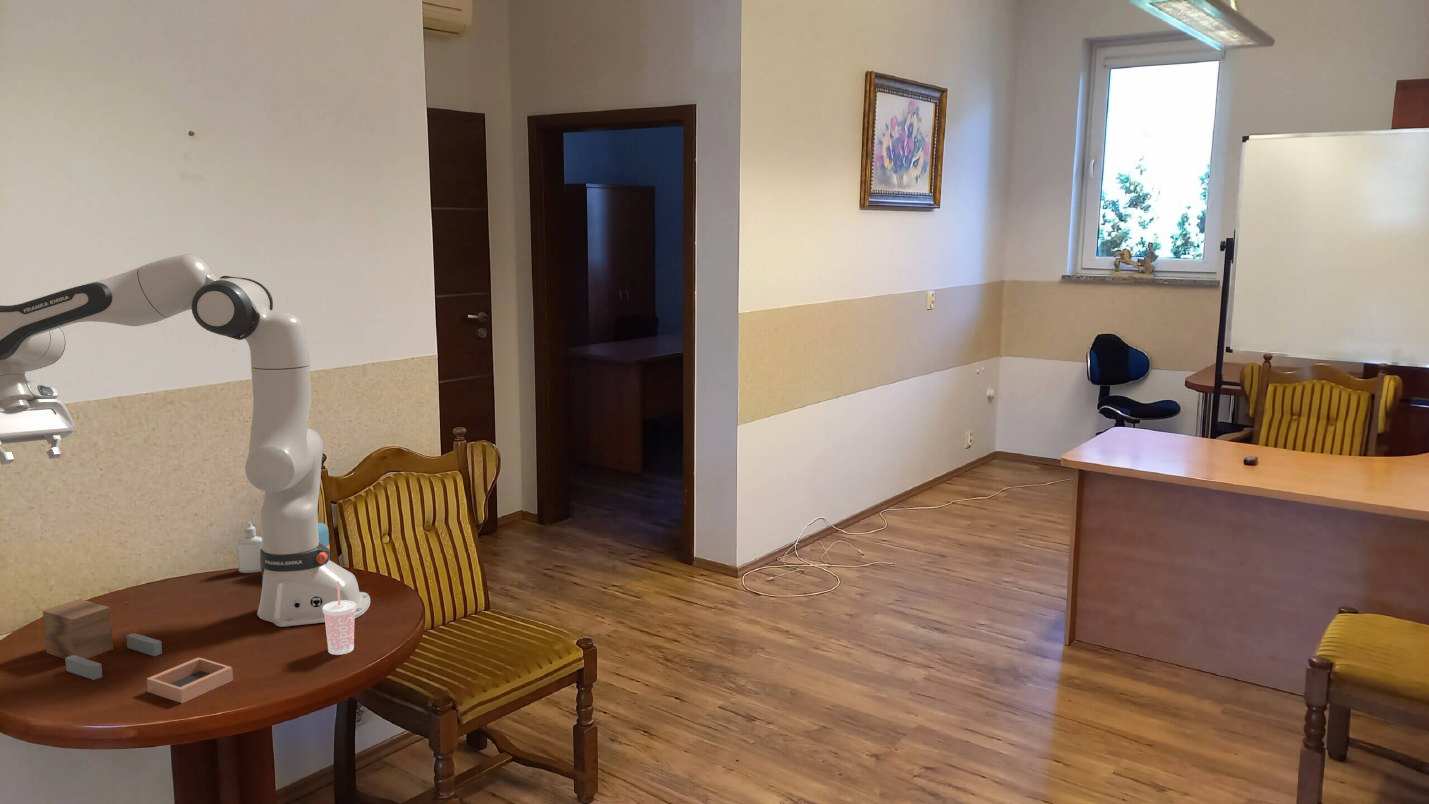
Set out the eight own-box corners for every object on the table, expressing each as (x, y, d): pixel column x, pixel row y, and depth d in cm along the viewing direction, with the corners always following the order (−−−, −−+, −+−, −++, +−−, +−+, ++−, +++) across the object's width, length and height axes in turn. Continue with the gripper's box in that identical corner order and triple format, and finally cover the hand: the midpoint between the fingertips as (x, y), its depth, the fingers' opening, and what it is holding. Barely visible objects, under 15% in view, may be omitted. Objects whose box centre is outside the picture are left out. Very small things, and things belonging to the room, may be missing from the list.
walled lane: (66, 670, 177) (65, 657, 176) (134, 645, 188) (134, 632, 188) (94, 680, 173) (92, 667, 173) (162, 653, 185) (161, 641, 185)
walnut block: (46, 653, 184) (42, 610, 183) (83, 640, 190) (80, 599, 189) (76, 662, 180) (72, 619, 179) (113, 649, 187) (109, 607, 185)
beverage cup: (324, 658, 185) (321, 588, 182) (323, 646, 190) (320, 577, 188) (358, 653, 187) (356, 584, 185) (356, 641, 193) (354, 574, 190)
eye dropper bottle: (257, 574, 229) (254, 525, 227) (235, 572, 230) (232, 524, 228) (268, 568, 233) (265, 520, 231) (247, 566, 234) (244, 518, 232)
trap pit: (147, 691, 170) (146, 678, 169) (199, 670, 178) (198, 657, 178) (182, 703, 166) (181, 689, 165) (233, 680, 175) (232, 667, 174)
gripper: (-42, 392, 180) (-13, 458, 178) (64, 388, 199) (90, 447, 198) (-61, 408, 182) (-33, 474, 180) (45, 402, 201) (71, 461, 200)
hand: (32, 460), depth 189 cm, fingers open, 8 cm apart
